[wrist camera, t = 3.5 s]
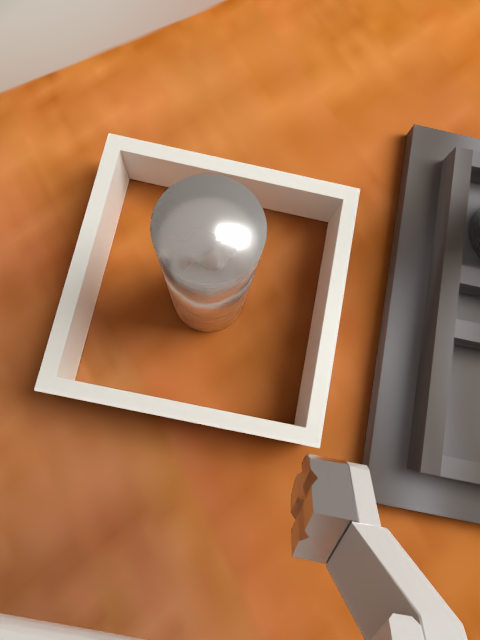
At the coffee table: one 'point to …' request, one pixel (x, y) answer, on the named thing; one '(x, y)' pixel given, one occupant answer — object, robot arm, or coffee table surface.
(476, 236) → the seated billet
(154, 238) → the ball
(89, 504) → the coffee table surface
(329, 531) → the robot arm
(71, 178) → the coffee table surface
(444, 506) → the tray
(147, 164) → the white square frame
